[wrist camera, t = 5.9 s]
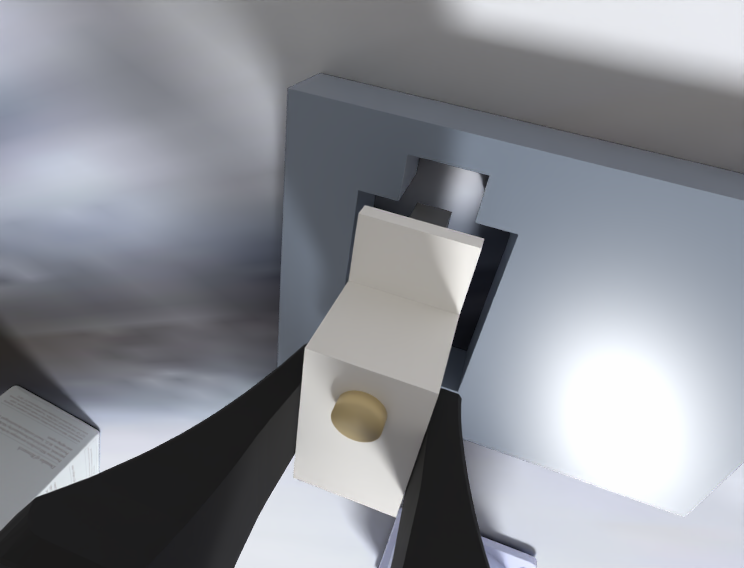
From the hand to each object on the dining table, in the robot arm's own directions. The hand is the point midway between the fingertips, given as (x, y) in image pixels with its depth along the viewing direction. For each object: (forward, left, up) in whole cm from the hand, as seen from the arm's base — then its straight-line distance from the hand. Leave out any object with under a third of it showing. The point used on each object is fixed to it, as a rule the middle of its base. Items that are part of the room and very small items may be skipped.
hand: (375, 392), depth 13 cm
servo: (0, 0, -4) cm, 4 cm away
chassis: (0, -4, -7) cm, 8 cm away
